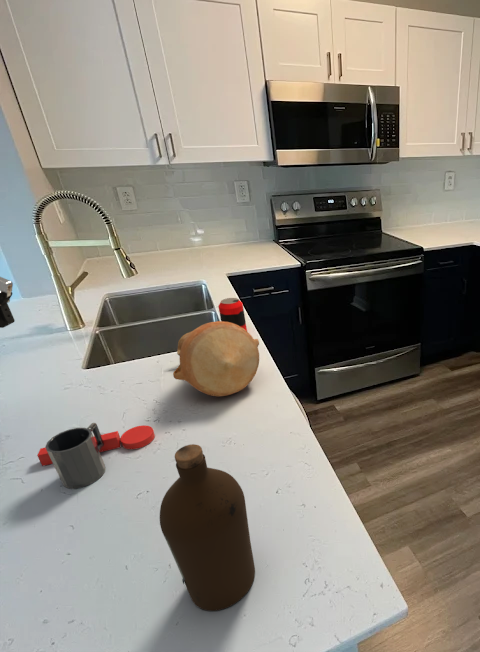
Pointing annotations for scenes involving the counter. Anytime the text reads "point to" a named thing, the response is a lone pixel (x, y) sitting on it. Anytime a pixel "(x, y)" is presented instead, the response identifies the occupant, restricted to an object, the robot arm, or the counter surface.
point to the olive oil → (208, 532)
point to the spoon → (115, 441)
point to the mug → (77, 456)
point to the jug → (217, 358)
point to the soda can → (232, 312)
